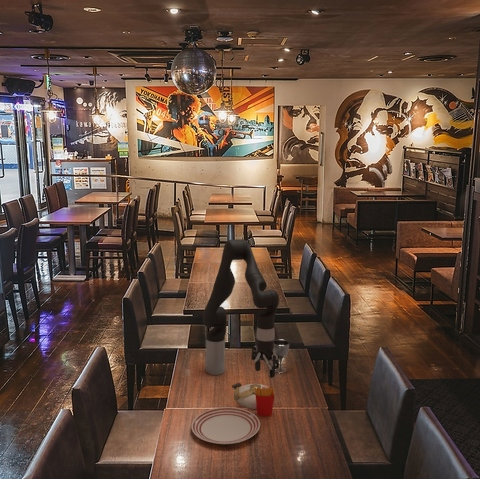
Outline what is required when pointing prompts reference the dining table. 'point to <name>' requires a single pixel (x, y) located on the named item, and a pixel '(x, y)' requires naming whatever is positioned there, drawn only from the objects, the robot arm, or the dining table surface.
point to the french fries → (264, 401)
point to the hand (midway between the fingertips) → (264, 373)
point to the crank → (244, 393)
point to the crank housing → (248, 397)
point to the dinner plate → (225, 425)
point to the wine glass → (281, 352)
